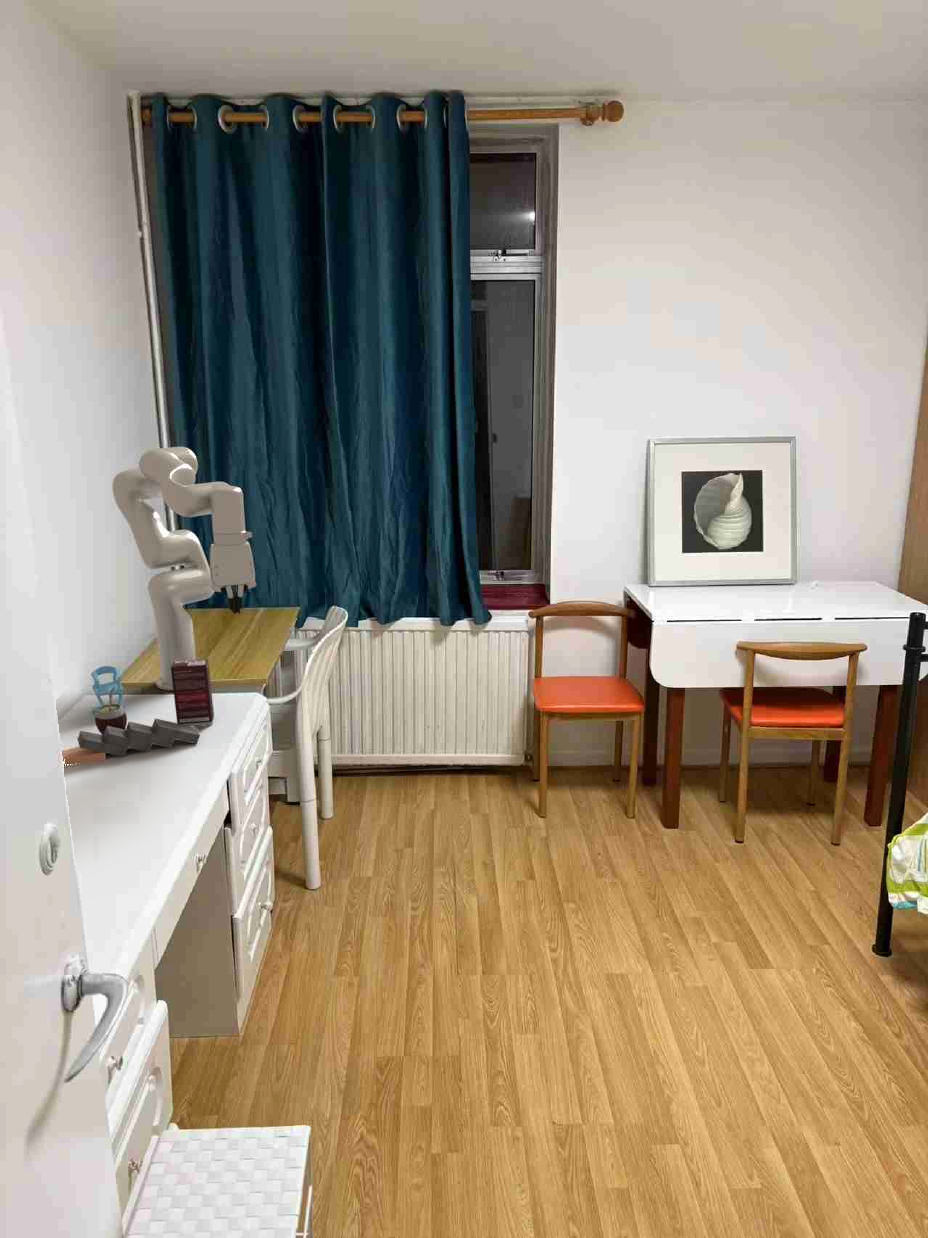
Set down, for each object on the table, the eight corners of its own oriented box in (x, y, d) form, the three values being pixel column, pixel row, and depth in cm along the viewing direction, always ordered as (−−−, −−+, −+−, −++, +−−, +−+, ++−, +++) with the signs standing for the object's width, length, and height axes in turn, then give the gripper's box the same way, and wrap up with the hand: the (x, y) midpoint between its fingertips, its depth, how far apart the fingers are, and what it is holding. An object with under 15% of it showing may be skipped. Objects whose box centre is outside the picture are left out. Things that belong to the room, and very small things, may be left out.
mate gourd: (108, 732, 233) (101, 674, 228) (138, 734, 231) (131, 676, 227) (90, 744, 226) (83, 685, 221) (121, 747, 224) (114, 687, 220)
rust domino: (104, 752, 223) (58, 760, 219) (103, 743, 222) (57, 751, 218) (106, 761, 218) (59, 769, 214) (105, 752, 218) (57, 760, 214)
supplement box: (214, 718, 241) (209, 658, 236) (212, 725, 236) (206, 664, 232) (179, 720, 240) (173, 660, 235) (176, 727, 235) (170, 666, 230)
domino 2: (146, 743, 226) (103, 734, 221) (150, 735, 226) (107, 725, 221) (149, 752, 222) (105, 742, 217) (152, 743, 221) (108, 733, 217)
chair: (98, 722, 239) (92, 677, 236) (92, 710, 246) (86, 666, 242) (130, 715, 243) (125, 671, 239) (123, 704, 250) (117, 661, 246)
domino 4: (193, 735, 230) (151, 726, 225) (196, 727, 230) (155, 718, 225) (196, 743, 226) (155, 734, 221) (200, 735, 226) (158, 726, 221)
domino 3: (167, 739, 228) (125, 729, 223) (170, 731, 228) (128, 721, 223) (170, 747, 223) (127, 738, 219) (173, 739, 223) (130, 729, 218)
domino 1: (121, 747, 224) (77, 739, 218) (124, 739, 223) (80, 730, 218) (124, 756, 219) (80, 748, 214) (127, 747, 219) (83, 739, 214)
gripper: (258, 532, 235) (263, 604, 241) (195, 538, 230) (202, 611, 235) (264, 538, 229) (269, 612, 234) (200, 544, 223) (207, 619, 229)
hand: (236, 611), depth 235 cm, fingers closed
